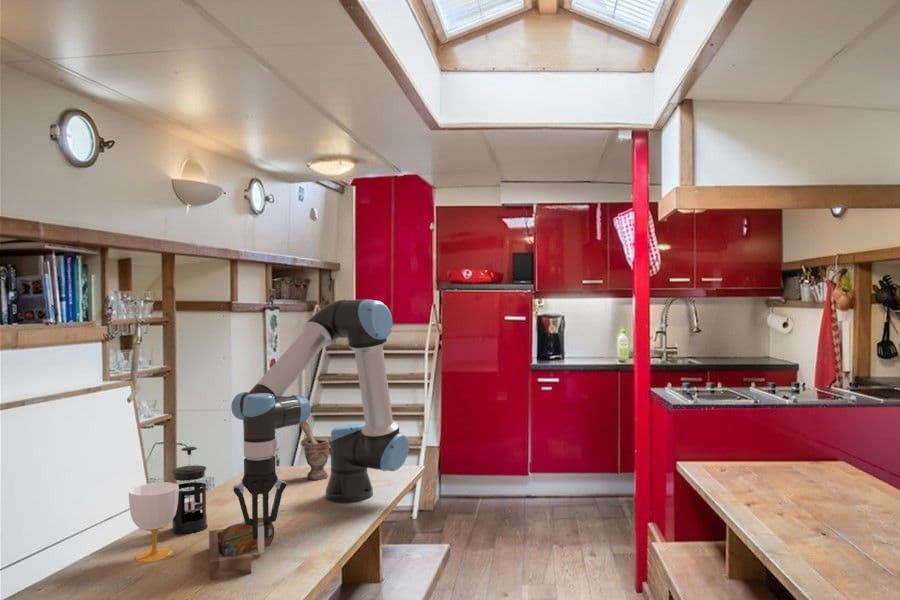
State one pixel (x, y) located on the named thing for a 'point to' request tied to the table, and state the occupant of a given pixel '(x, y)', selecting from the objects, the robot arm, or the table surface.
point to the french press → (189, 513)
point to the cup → (153, 513)
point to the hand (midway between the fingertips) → (260, 550)
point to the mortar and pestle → (315, 454)
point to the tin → (241, 539)
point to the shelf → (226, 560)
